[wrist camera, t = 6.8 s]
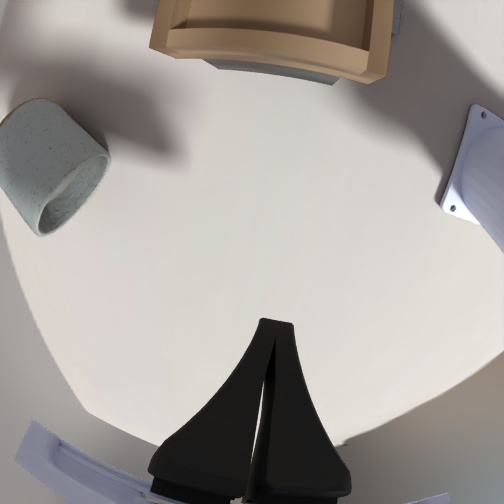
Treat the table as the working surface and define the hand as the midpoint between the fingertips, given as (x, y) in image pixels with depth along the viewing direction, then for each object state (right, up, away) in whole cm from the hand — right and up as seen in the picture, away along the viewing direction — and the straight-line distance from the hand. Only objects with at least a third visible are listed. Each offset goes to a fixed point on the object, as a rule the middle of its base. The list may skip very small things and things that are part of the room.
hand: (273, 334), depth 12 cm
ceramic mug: (-16, +11, +7) cm, 21 cm away
